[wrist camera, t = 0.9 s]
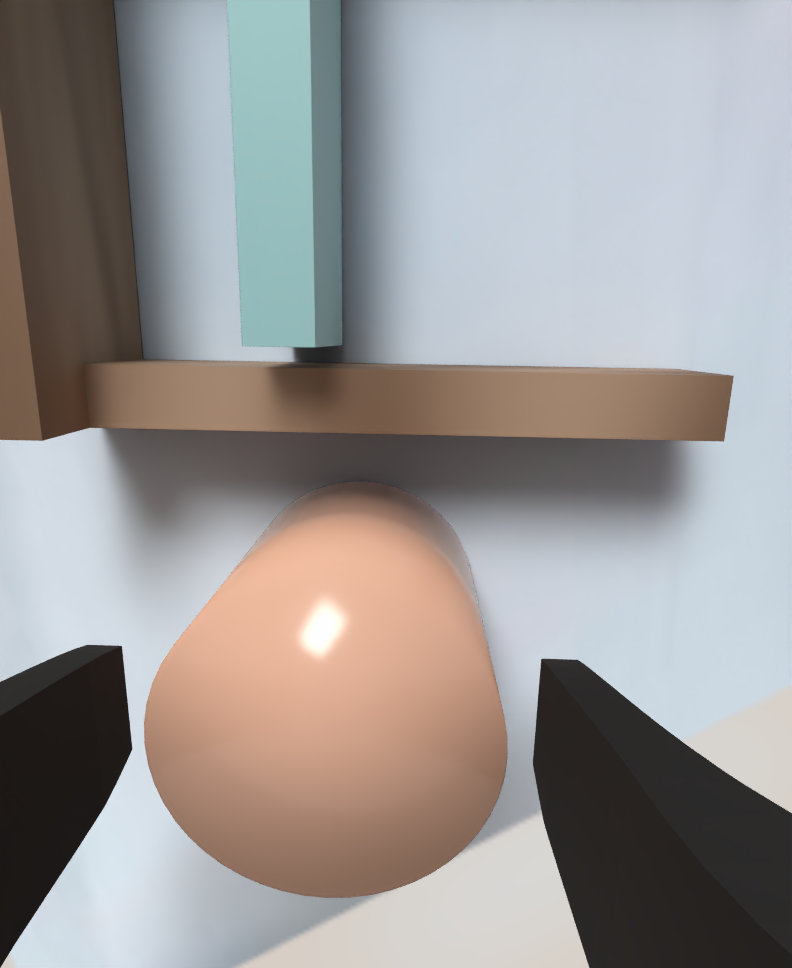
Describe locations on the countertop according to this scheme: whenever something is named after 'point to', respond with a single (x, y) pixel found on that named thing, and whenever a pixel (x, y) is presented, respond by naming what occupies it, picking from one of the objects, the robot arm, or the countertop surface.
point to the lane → (221, 384)
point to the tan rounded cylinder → (334, 701)
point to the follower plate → (287, 169)
